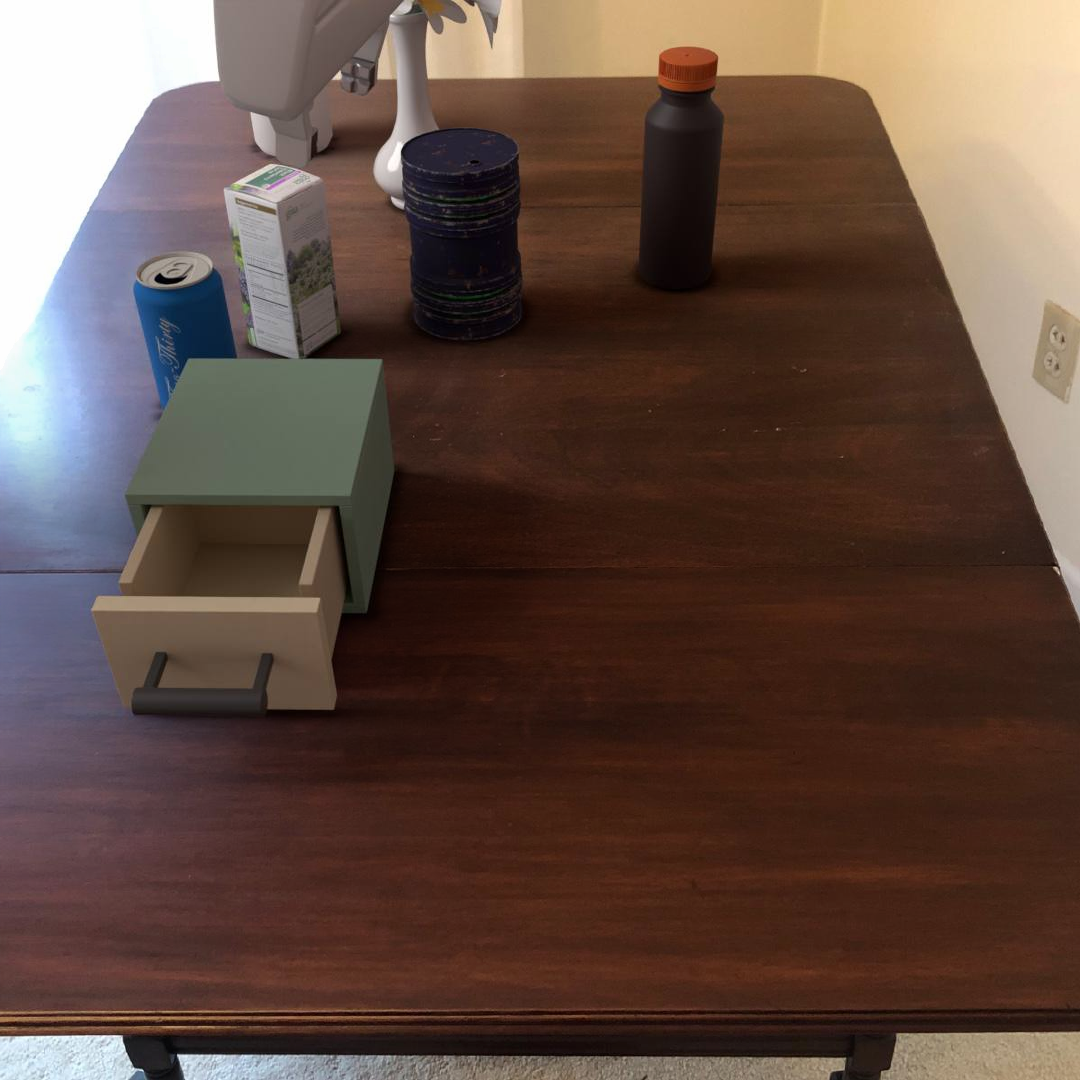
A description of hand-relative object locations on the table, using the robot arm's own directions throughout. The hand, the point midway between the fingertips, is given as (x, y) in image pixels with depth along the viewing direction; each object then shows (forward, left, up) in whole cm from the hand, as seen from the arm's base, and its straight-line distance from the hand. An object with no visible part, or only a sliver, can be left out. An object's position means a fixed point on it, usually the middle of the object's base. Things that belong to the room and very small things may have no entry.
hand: (328, 123), depth 69 cm
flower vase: (+25, +47, -28) cm, 61 cm away
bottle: (+38, +20, -28) cm, 52 cm away
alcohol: (+18, +68, -28) cm, 76 cm away
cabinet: (-7, +1, -28) cm, 29 cm away
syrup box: (+3, +26, -28) cm, 39 cm away
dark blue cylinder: (+18, +23, -28) cm, 41 cm away
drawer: (-12, -9, -27) cm, 31 cm away
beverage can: (-7, +20, -28) cm, 35 cm away
